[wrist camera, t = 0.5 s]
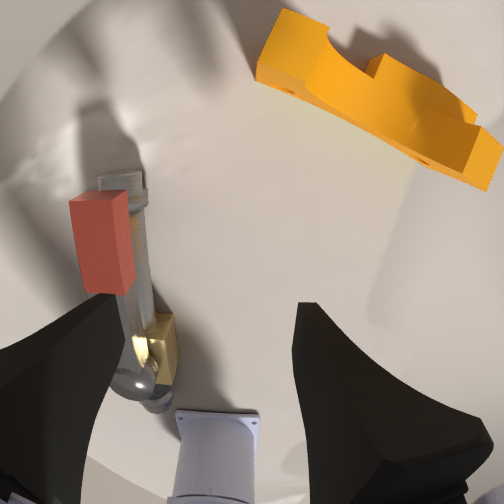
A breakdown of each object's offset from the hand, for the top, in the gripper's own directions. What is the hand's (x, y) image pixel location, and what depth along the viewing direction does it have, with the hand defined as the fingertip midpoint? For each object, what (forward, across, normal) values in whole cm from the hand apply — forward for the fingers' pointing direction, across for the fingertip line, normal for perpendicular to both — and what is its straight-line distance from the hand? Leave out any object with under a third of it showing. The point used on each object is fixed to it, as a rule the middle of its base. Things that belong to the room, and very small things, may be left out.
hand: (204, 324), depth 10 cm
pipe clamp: (+10, -8, -9) cm, 16 cm away
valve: (+10, +6, +6) cm, 13 cm away
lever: (+6, +6, +4) cm, 10 cm away
